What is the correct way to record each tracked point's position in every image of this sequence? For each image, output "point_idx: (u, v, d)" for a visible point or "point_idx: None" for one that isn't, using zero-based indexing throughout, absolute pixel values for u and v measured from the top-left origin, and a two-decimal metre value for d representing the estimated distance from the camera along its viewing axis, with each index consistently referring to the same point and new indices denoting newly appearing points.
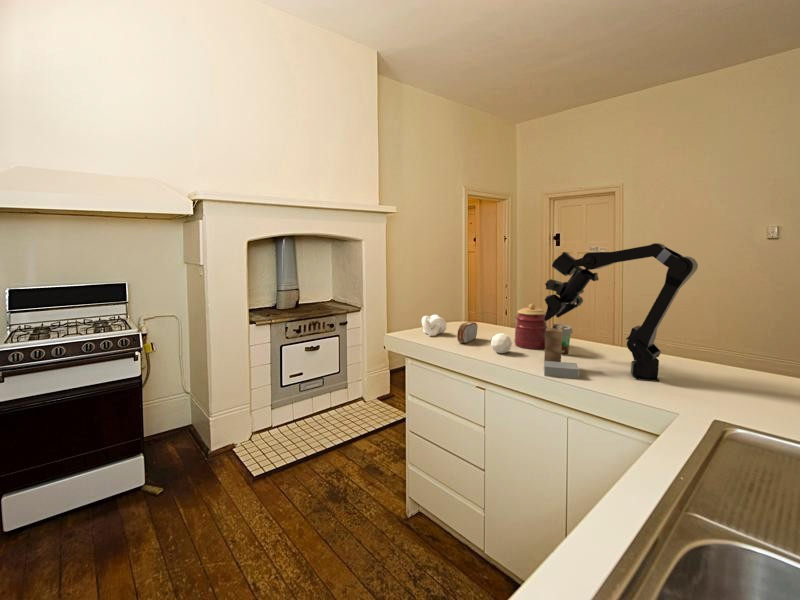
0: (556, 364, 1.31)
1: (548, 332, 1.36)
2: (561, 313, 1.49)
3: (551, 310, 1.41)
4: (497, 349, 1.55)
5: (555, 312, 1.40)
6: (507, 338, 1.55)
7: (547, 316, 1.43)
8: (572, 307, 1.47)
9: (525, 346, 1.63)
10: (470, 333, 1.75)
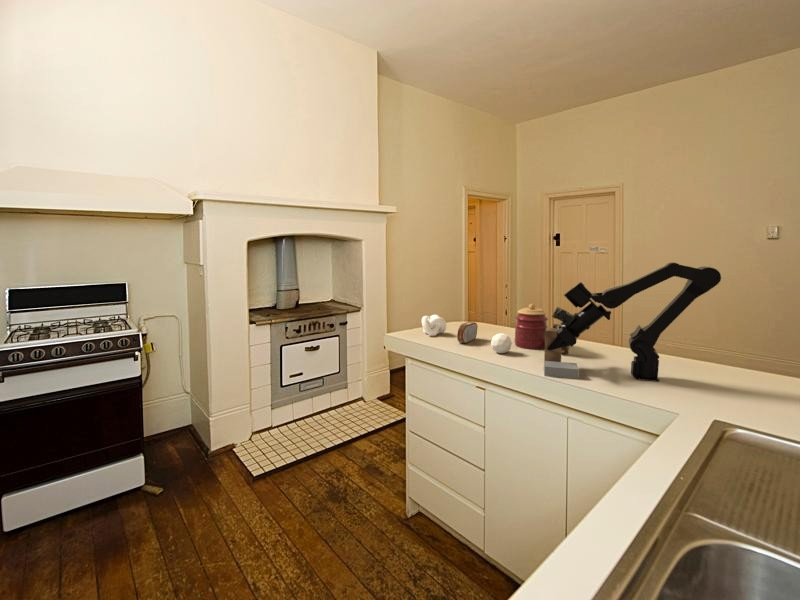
0: (556, 364, 1.31)
1: (548, 332, 1.36)
2: None
3: (559, 341, 1.33)
4: (497, 349, 1.55)
5: (564, 344, 1.32)
6: (507, 338, 1.55)
7: (552, 346, 1.35)
8: None
9: (525, 346, 1.63)
10: (470, 333, 1.75)
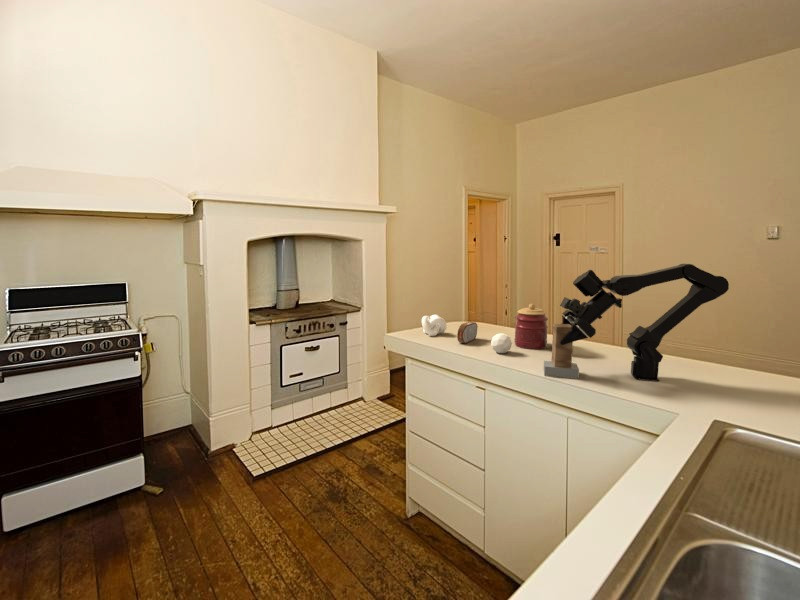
0: None
1: (559, 328, 1.27)
2: None
3: (573, 334, 1.24)
4: (497, 349, 1.55)
5: (580, 337, 1.23)
6: (507, 338, 1.55)
7: (566, 340, 1.25)
8: None
9: (525, 346, 1.63)
10: (470, 333, 1.75)
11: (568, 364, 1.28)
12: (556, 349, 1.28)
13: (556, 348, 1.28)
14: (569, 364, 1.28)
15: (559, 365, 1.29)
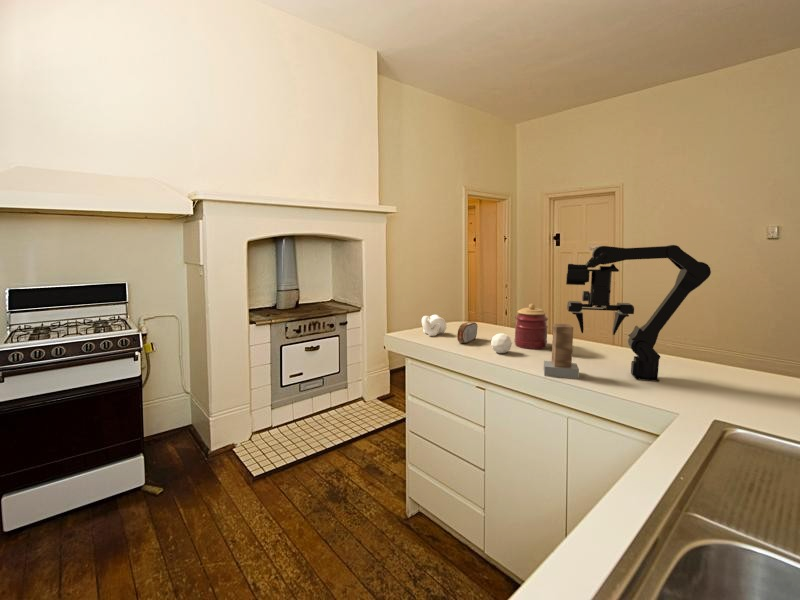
0: None
1: (559, 328, 1.27)
2: (614, 328, 1.29)
3: None
4: (497, 349, 1.55)
5: (577, 317, 1.30)
6: (507, 338, 1.55)
7: (580, 327, 1.32)
8: (618, 316, 1.26)
9: (525, 346, 1.63)
10: (470, 333, 1.75)
11: (568, 364, 1.28)
12: (556, 349, 1.28)
13: (556, 348, 1.28)
14: (569, 364, 1.28)
15: (559, 365, 1.29)
